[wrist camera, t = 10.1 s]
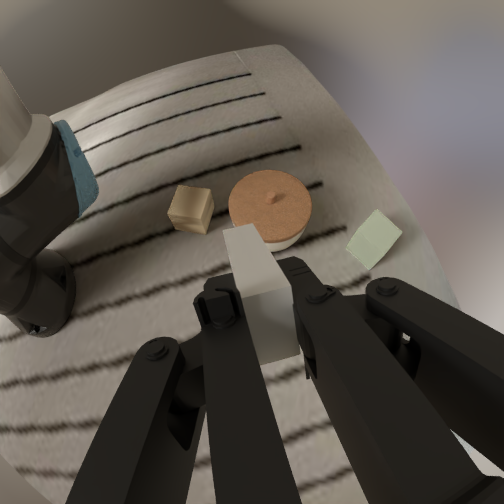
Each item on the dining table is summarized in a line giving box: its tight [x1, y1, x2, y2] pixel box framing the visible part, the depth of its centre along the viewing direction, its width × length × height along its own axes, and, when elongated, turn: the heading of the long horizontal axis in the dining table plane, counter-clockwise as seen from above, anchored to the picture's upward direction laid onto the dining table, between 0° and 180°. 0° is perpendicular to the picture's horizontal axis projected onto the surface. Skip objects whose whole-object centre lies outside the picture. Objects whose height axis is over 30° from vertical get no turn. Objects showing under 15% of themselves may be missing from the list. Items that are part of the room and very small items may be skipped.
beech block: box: [167, 185, 214, 235], centre depth 43 cm, size 5×5×5 cm
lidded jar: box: [228, 170, 312, 252], centre depth 40 cm, size 11×11×9 cm
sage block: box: [346, 209, 402, 270], centre depth 40 cm, size 5×5×6 cm
